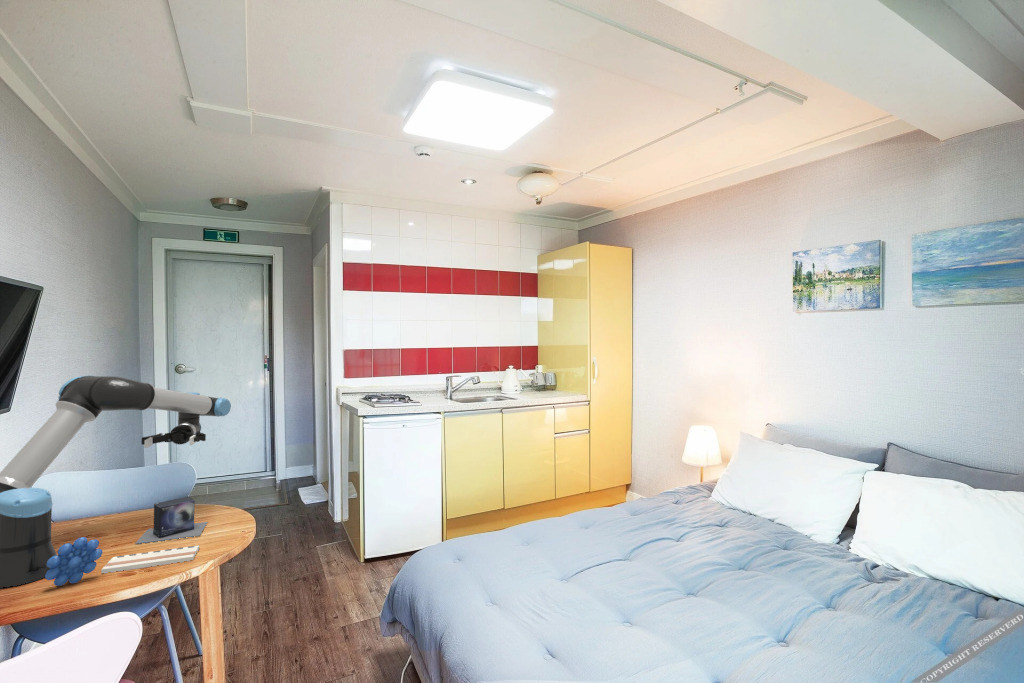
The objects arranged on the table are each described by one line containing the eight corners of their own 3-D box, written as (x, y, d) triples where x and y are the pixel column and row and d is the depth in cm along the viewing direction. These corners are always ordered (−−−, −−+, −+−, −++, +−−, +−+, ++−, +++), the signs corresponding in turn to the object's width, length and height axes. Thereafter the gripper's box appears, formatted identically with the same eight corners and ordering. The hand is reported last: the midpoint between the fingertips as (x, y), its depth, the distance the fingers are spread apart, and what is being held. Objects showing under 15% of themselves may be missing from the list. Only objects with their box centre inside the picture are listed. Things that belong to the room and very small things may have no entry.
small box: (159, 538, 161) (159, 507, 161) (152, 534, 165) (152, 503, 165) (195, 529, 169) (195, 499, 169) (187, 525, 173) (188, 495, 173)
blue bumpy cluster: (99, 570, 139) (100, 528, 139) (103, 578, 134) (104, 534, 134) (43, 585, 130) (44, 540, 130) (45, 594, 126) (46, 547, 126)
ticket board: (101, 573, 137) (101, 568, 137) (113, 560, 145) (113, 556, 145) (192, 560, 145) (192, 555, 145) (199, 549, 154) (199, 544, 154)
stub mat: (134, 544, 157) (134, 543, 157) (148, 529, 170) (148, 528, 170) (199, 536, 164) (199, 535, 164) (207, 522, 177) (208, 521, 177)
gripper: (218, 440, 199) (208, 450, 179) (145, 445, 190) (126, 456, 170) (218, 422, 199) (208, 430, 180) (145, 426, 190) (126, 434, 170)
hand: (168, 442), depth 175 cm, fingers open, 13 cm apart
